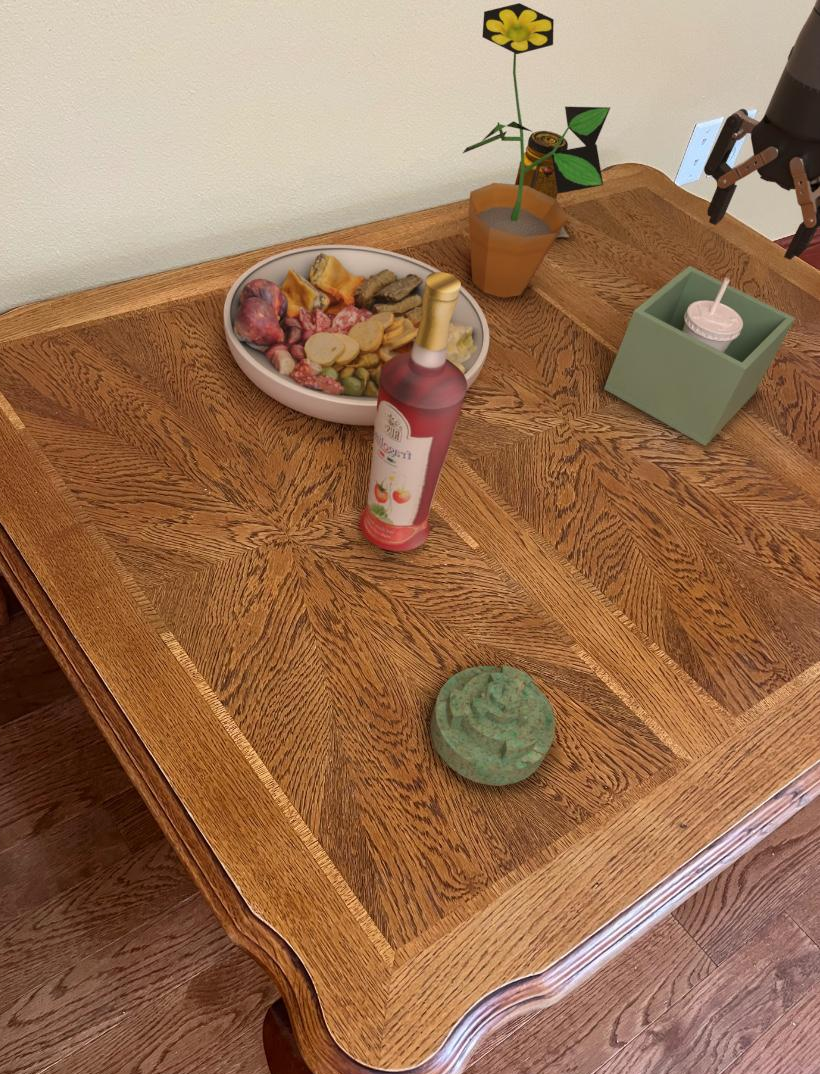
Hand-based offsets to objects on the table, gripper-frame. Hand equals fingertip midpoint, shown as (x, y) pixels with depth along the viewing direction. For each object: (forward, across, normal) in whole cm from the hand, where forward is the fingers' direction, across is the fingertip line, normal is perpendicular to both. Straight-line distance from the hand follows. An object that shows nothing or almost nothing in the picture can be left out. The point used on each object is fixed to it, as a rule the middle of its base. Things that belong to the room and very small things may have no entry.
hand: (751, 238), depth 97 cm
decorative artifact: (+20, -10, +55) cm, 59 cm away
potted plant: (+20, +28, -2) cm, 35 cm away
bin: (+20, 0, 0) cm, 20 cm away
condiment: (+20, +33, -18) cm, 43 cm away
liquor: (+20, +10, +43) cm, 49 cm away
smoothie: (+19, 0, 0) cm, 19 cm away
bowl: (+20, +31, +24) cm, 44 cm away
